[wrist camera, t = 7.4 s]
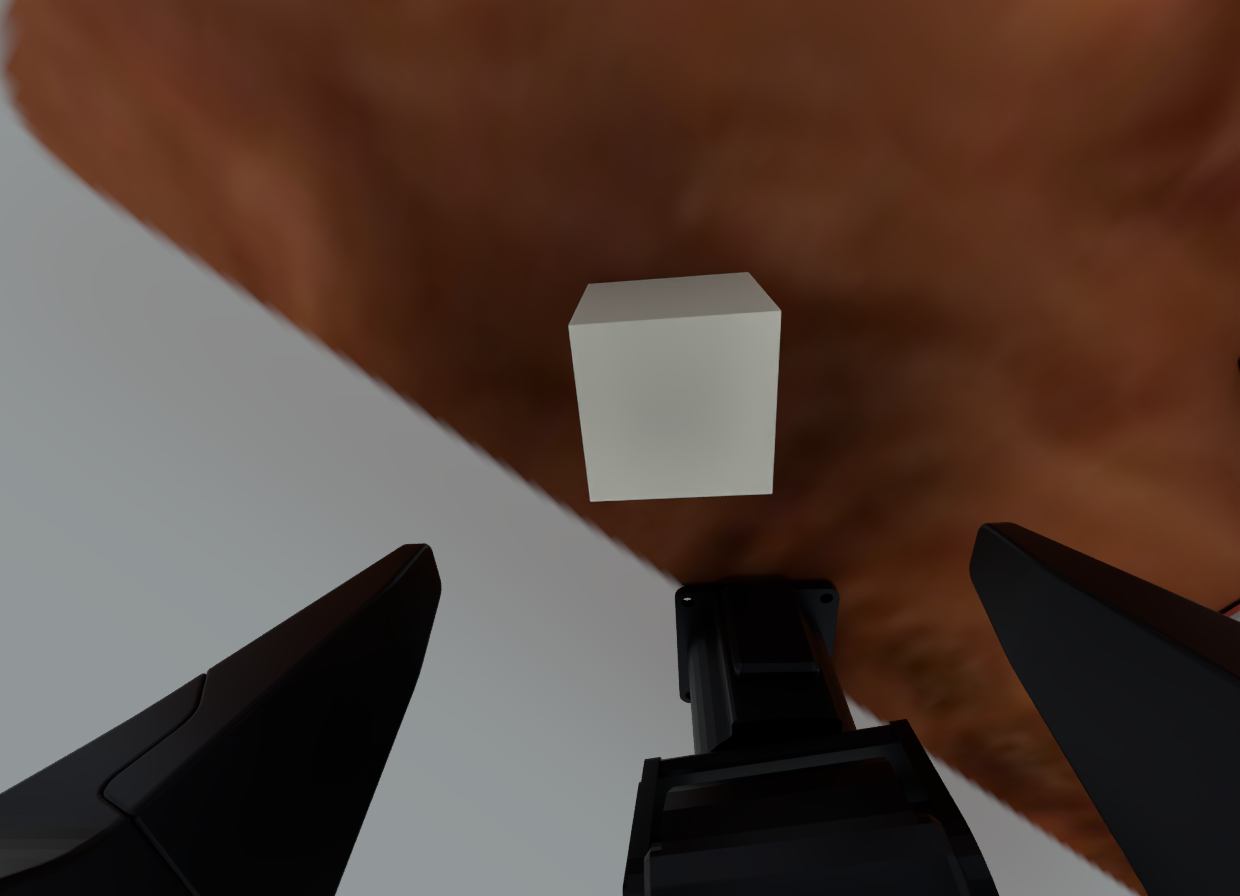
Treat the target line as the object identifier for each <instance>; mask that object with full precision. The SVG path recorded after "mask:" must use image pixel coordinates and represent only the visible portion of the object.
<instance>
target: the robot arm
mask: <svg viewBox="0 0 1240 896" xmlns="http://www.w3.org/2000/svg"><path fill="white" fill-rule="evenodd" d="M969 570H970V576H971V580H972V582H973V584H974V587H975V589H976V591H977V593H978V595H979V597H980V600H981V602H982V604H983V606H984V608H985V610H986V613H987V615H988V617H989V619H990V621H991V623H992V626H993V628H994V630H995V632H996V634H997V636H998V639H999V641H1000V643H1001V645H1002V647H1003V649H1004V652H1005V654H1006V656H1007V658H1008V660H1009V662H1010V664H1011V666H1012V667H1013V669H1014V671H1015V673H1016V674H1017V676H1018V678H1019V680H1020V681H1021V683H1022V685H1023V686H1024V688H1025V690H1026V691H1027V693H1028V695H1029V696H1030V698H1031V700H1032V701H1033V703H1034V705H1035V706H1036V708H1037V710H1038V711H1039V713H1040V715H1041V716H1042V718H1043V720H1044V721H1045V723H1046V725H1047V726H1048V728H1049V730H1050V731H1051V733H1052V735H1053V737H1054V738H1055V740H1056V742H1057V743H1058V745H1059V747H1060V748H1061V750H1062V752H1063V753H1064V755H1065V757H1066V758H1067V760H1068V762H1069V763H1070V765H1071V767H1072V768H1073V770H1074V772H1075V773H1076V775H1077V777H1078V778H1079V780H1080V782H1081V783H1082V785H1083V787H1084V788H1085V790H1086V792H1087V793H1088V795H1089V797H1090V798H1091V800H1092V802H1093V803H1094V805H1095V807H1096V808H1097V810H1098V812H1099V813H1100V815H1101V817H1102V818H1103V820H1104V822H1105V823H1106V825H1107V827H1108V828H1109V830H1110V832H1111V833H1112V835H1113V837H1114V838H1115V840H1116V842H1117V844H1118V845H1119V847H1120V849H1121V850H1122V852H1123V854H1124V855H1125V857H1126V859H1127V860H1128V862H1129V864H1130V865H1131V867H1132V869H1133V870H1134V872H1135V874H1136V875H1137V877H1138V879H1139V880H1140V882H1141V884H1142V885H1143V887H1144V889H1145V890H1146V892H1147V894H1148V895H1149V896H1240V622H1239V621H1237V620H1235V619H1232V618H1230V617H1228V616H1226V615H1223V614H1221V613H1219V612H1216V611H1214V610H1212V609H1209V608H1207V607H1205V606H1203V605H1200V604H1198V603H1196V602H1193V601H1191V600H1189V599H1187V598H1184V597H1182V596H1180V595H1177V594H1175V593H1173V592H1170V591H1168V590H1166V589H1164V588H1161V587H1159V586H1157V585H1154V584H1152V583H1150V582H1147V581H1145V580H1143V579H1141V578H1138V577H1136V576H1134V575H1131V574H1129V573H1127V572H1125V571H1122V570H1120V569H1118V568H1115V567H1113V566H1111V565H1108V564H1106V563H1104V562H1102V561H1099V560H1097V559H1095V558H1092V557H1090V556H1088V555H1086V554H1083V553H1081V552H1079V551H1076V550H1074V549H1072V548H1069V547H1067V546H1065V545H1063V544H1060V543H1058V542H1056V541H1053V540H1051V539H1049V538H1046V537H1044V536H1042V535H1040V534H1037V533H1035V532H1033V531H1030V530H1028V529H1026V528H1024V527H1021V526H1019V525H1017V524H1014V523H1010V522H1001V523H985V524H983V525H982V526H981V527H980V528H979V530H978V533H977V537H976V541H975V545H974V549H973V553H972V557H971V561H970V568H969ZM823 594H828V595H827V596H822V595H823ZM440 596H441V580H440V576H439V572H438V569H437V565H436V562H435V558H434V555H433V551H432V549H431V547H430V546H429V545H427V544H425V543H423V544H405V545H403V546H401V547H399V548H398V549H396V550H395V551H393V552H391V553H390V554H388V555H387V556H385V557H384V558H382V559H380V560H379V561H377V562H376V563H374V564H373V565H371V566H370V567H368V568H367V569H365V570H363V571H362V572H360V573H359V574H357V575H356V576H354V577H352V578H351V579H349V580H348V581H346V582H345V583H343V584H342V585H340V586H338V587H337V588H335V589H334V590H332V591H331V592H329V593H327V594H326V595H324V596H323V597H321V598H320V599H318V600H316V601H315V602H313V603H312V604H310V605H309V606H307V607H305V608H304V609H302V610H301V611H299V612H298V613H296V614H295V615H293V616H291V617H290V618H288V619H287V620H285V621H284V622H282V623H281V624H279V625H277V626H276V627H274V628H273V629H271V630H270V631H268V632H266V633H265V634H263V635H262V636H260V637H259V638H257V639H255V640H254V641H253V642H251V643H249V644H248V645H246V646H245V647H243V648H241V649H240V650H239V651H237V652H235V653H234V654H232V655H231V656H229V657H227V658H226V659H224V660H223V661H221V662H220V663H218V664H216V665H215V666H214V667H212V668H210V669H209V670H208V671H207V674H205V673H204V674H201V675H199V676H197V677H196V678H194V679H193V680H191V681H190V682H188V683H187V684H185V685H184V686H182V687H180V688H179V689H177V690H176V691H174V692H172V693H171V694H169V695H168V696H166V697H165V698H163V699H162V700H160V701H158V702H156V703H155V704H153V705H152V706H150V707H148V708H147V709H145V710H144V711H142V712H140V713H139V714H137V715H135V716H134V717H132V718H130V719H129V720H127V721H125V722H124V723H122V724H120V725H119V726H117V727H115V728H113V729H112V730H110V731H108V732H107V733H105V734H103V735H101V736H100V737H98V738H96V739H95V740H93V741H91V742H89V743H88V744H86V745H84V746H83V747H81V748H79V749H77V750H76V751H74V752H72V753H70V754H69V755H67V756H65V757H64V758H62V759H60V760H58V761H57V762H55V763H53V764H51V765H49V766H48V767H46V768H44V769H43V770H41V771H39V772H37V773H36V774H34V775H32V776H30V777H29V778H27V779H25V780H24V781H22V782H20V783H18V784H17V785H15V786H13V787H11V788H9V789H8V790H6V791H5V792H2V793H1V794H0V896H335V894H336V892H337V889H338V886H339V884H340V881H341V878H342V876H343V873H344V871H345V868H346V866H347V863H348V860H349V858H350V855H351V852H352V850H353V847H354V844H355V842H356V840H357V837H358V834H359V832H360V829H361V827H362V824H363V821H364V819H365V816H366V814H367V811H368V808H369V806H370V803H371V801H372V798H373V795H374V793H375V790H376V788H377V785H378V782H379V780H380V777H381V775H382V772H383V769H384V767H385V764H386V762H387V759H388V756H389V753H390V751H391V749H392V746H393V743H394V741H395V738H396V735H397V733H398V730H399V728H400V725H401V723H402V720H403V717H404V715H405V712H406V710H407V707H408V704H409V702H410V699H411V697H412V694H413V692H414V689H415V686H416V683H417V680H418V678H419V675H420V671H421V668H422V664H423V661H424V657H425V653H426V649H427V646H428V642H429V638H430V634H431V630H432V627H433V623H434V619H435V615H436V611H437V608H438V604H439V600H440ZM684 598H691V600H683V599H684ZM838 605H839V594H838V591H837V589H836V587H835V586H834V585H833V584H832V583H829V582H807V583H775V584H744V585H712V586H686V587H681V588H680V589H678V590H677V591H676V593H675V608H676V629H677V648H678V671H679V690H680V698H681V699H682V700H683V701H685V702H687V703H691V710H692V723H693V736H694V749H695V755H689V756H683V757H676V758H670V759H663V760H662V759H661V757H657V758H650V759H645V761H644V767H643V773H642V780H641V782H639V786H638V792H637V799H636V805H635V811H634V818H633V824H632V830H631V837H630V843H629V851H628V857H627V863H626V870H625V876H624V883H623V896H999V894H998V891H997V889H996V886H995V884H994V881H993V878H992V876H991V874H990V871H989V869H988V867H987V864H986V862H985V860H984V857H983V855H982V853H981V851H980V849H979V847H978V845H977V842H976V840H975V838H974V836H973V834H972V832H971V830H970V828H969V827H968V825H967V823H966V821H965V819H964V817H963V816H962V814H961V813H960V810H959V809H958V807H957V805H956V804H955V802H954V800H953V798H952V797H951V795H950V794H949V791H948V790H947V788H946V786H945V785H944V783H943V781H942V779H941V778H940V776H939V774H938V772H937V771H936V769H935V767H934V766H933V764H932V762H931V760H930V759H929V757H928V755H927V753H926V752H925V750H924V748H923V747H922V745H921V743H920V741H919V740H918V738H917V736H916V735H915V733H914V731H913V729H912V728H911V726H910V724H909V722H908V721H907V719H903V720H897V721H890V722H889V725H885V726H878V727H872V728H865V729H859V730H856V727H855V724H854V721H853V718H852V716H851V713H850V710H849V707H848V705H847V702H846V699H845V696H844V694H843V691H842V688H841V685H840V683H839V680H838V677H837V674H836V671H835V669H834V666H833V663H832V653H833V645H834V637H835V629H836V621H837V613H838Z"/></svg>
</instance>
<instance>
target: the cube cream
mask: <svg viewBox="0 0 1240 896" xmlns="http://www.w3.org/2000/svg"><path fill="white" fill-rule="evenodd" d="M780 326H781V310H780V309H779V307H778V306H777V305H776V304H775V303H774V302H773V300H772V299H771V298H770V297H769V296H768V294H767V293H766V292H765V291H764V290H763V289H762V287H761V286H760V285H759V284H758V283H757V282H756V280H755V279H754V278H753V277H752V276H751V275H750V273H749V272H742V273H728V274H715V275H702V276H688V277H675V278H661V279H648V280H635V281H621V282H608V283H595V284H588V286H587V288H586V290H585V292H584V294H583V296H582V298H581V300H580V302H579V304H578V306H577V308H576V310H575V312H574V314H573V317H572V319H571V321H570V323H569V325H568V327H569V335H570V343H571V351H572V359H573V367H574V375H575V383H576V391H577V399H578V407H579V415H580V423H581V431H582V439H583V447H584V455H585V463H586V471H587V479H588V487H589V495H590V502H593V501H616V500H639V499H663V498H686V497H709V496H732V495H755V494H772V488H773V468H774V448H775V427H776V407H777V387H778V367H779V346H780Z"/></svg>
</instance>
